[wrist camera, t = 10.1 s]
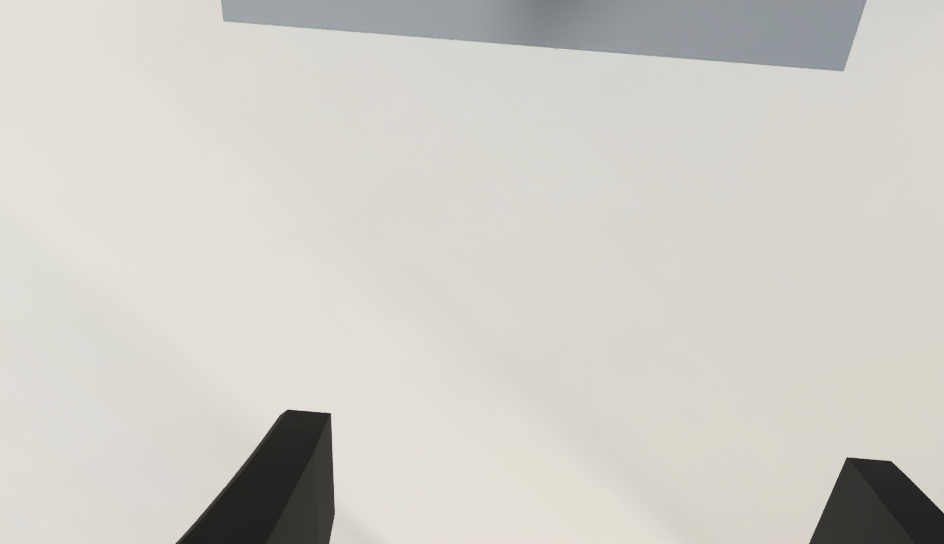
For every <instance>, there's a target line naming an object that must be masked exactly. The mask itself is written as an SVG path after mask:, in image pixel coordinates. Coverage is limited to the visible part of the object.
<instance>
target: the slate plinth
mask: <svg viewBox="0 0 944 544" xmlns="http://www.w3.org/2000/svg"><path fill="white" fill-rule="evenodd" d="M221 3H222V13H223V21H227V22H239V23H252V24H264V25H277V26H289V27H301V28H314V29H326V30H339V31H351V32H363V33H376V34H388V35H401V36H413V37H425V38H438V39H450V40H463V41H475V42H487V43H500V44H512V45H525V46H537V47H549V48H562V49H574V50H587V51H599V52H611V53H624V54H636V55H648V56H661V57H673V58H686V59H698V60H710V61H723V62H735V63H748V64H760V65H772V66H785V67H797V68H810V69H822V70H834V71H844V68H845V65H846V62H847V59H848V56H849V53H850V50H851V47H852V43H853V40H854V37H855V34H856V31H857V28H858V25H859V22H860V18H861V15H862V12H863V9H864V6H865V3H866V0H221Z"/></svg>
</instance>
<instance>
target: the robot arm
mask: <svg viewBox="0 0 944 544" xmlns="http://www.w3.org/2000/svg"><path fill="white" fill-rule="evenodd" d="M334 515H335V509H334V483H333V457H332V431H331V413H320V412H309V411H297V410H287V411H285V412H284V413H282V414H281V415H280V416H279V417H278V419H277V420H276V422H275V423H274V425H273V426H272V427H271V429H270V430H269V432H268V433H267V434H266V436H265V437H264V438H263V440H262V441H261V442H260V444H259V445H258V446H257V448H256V449H255V450H254V452H253V453H252V454H251V455H250V457H249V458H248V459H247V461H246V462H245V463H244V464H243V466H242V467H241V468H240V469H239V471H238V472H237V473H236V474H235V476H234V477H233V478H232V479H231V481H230V482H229V483H228V484H227V486H226V487H225V488H224V489H223V490H222V491H221V493H220V494H219V495H218V496H217V497H216V498H215V500H214V501H213V502H212V503H211V504H210V505H209V507H208V508H207V509H206V510H205V511H204V513H203V514H202V515H201V516H200V517H199V518H198V520H197V521H196V522H195V523H194V524H193V525H192V526H191V528H190V529H189V530H188V531H187V532H186V533H185V534H184V535H183V536H182V537H181V538H180V540H179V541H178V542H177V543H176V544H329V541H330V536H331V530H332V525H333V520H334ZM809 544H944V513H943V512H942V511H941V510H940V509H939V508H938V507H937V506H936V505H935V504H934V503H933V502H932V501H931V500H930V499H929V498H928V497H927V496H926V495H925V494H924V493H923V492H922V491H921V490H920V489H919V488H918V487H917V486H916V485H915V484H914V483H913V482H912V481H911V480H910V479H909V478H908V477H907V476H906V475H905V474H904V473H903V472H902V471H901V470H900V469H899V468H898V467H897V466H896V465H895V464H893V463H892V462H891V461H882V460H871V459H859V458H846V461H845V463H844V465H843V468H842V470H841V472H840V474H839V477H838V479H837V481H836V484H835V486H834V488H833V490H832V493H831V495H830V497H829V500H828V502H827V504H826V506H825V509H824V511H823V513H822V516H821V518H820V520H819V522H818V525H817V527H816V529H815V532H814V534H813V536H812V538H811V541H810V543H809Z"/></svg>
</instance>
